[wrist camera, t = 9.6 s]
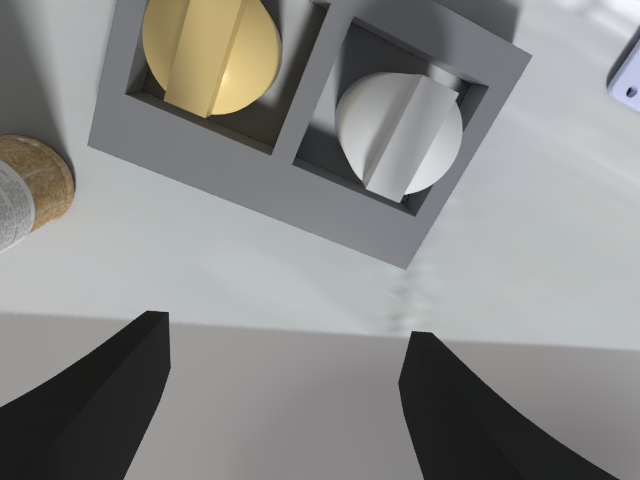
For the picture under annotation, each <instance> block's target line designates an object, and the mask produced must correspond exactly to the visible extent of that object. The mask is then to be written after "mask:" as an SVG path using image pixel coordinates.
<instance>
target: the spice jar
mask: <svg viewBox="0 0 640 480" xmlns="http://www.w3.org/2000/svg"><path fill="white" fill-rule="evenodd" d="M73 199H74V182H73V178H72V175H71V172H70V171H69V169H68V166H67V164H66V163H65V162H64V161H63V159H62V158H61V157H60V156H59V155H58V154H57V153H55V152H54V151H53V150H52V149H51V148H50V147H48V146H46V145H45V144H44V143H42V142H40V141H38V140H36V139H33V138H29V137H26V136H16V135H4V136H0V254H1V253H3V252H4V251H6V250H8V249H9V248H11V247H12V246H14V245H16V244H17V243H19V242H20V241H21V240H23V239H24V238H25V237H26V236H27V235H28V234H30V233H31V232H33V231H34V230H36V229H38V228H39V227H41V226H42V225H44V224H46V223H50V222H53V221H54V220H56V219H58V218H60V217H61V216H62V215H63V214H64V213H66V211H67V210H68V209H69V207H70V206H71V203H72V201H73Z"/></svg>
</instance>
